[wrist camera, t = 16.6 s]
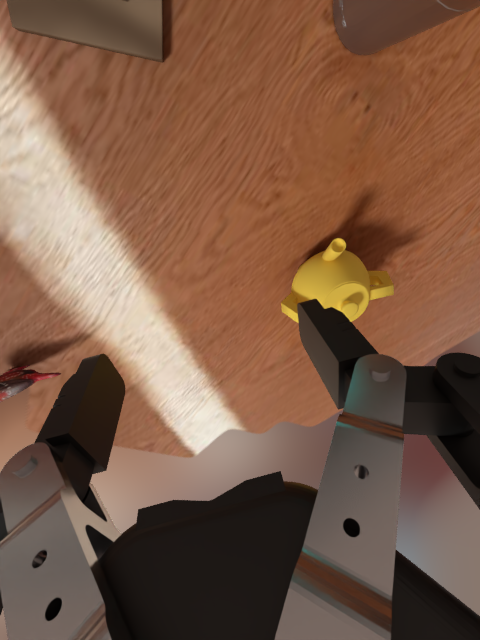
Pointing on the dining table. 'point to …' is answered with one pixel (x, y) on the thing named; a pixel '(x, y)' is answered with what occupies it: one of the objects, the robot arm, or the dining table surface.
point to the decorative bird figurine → (19, 381)
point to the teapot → (336, 283)
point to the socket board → (95, 23)
